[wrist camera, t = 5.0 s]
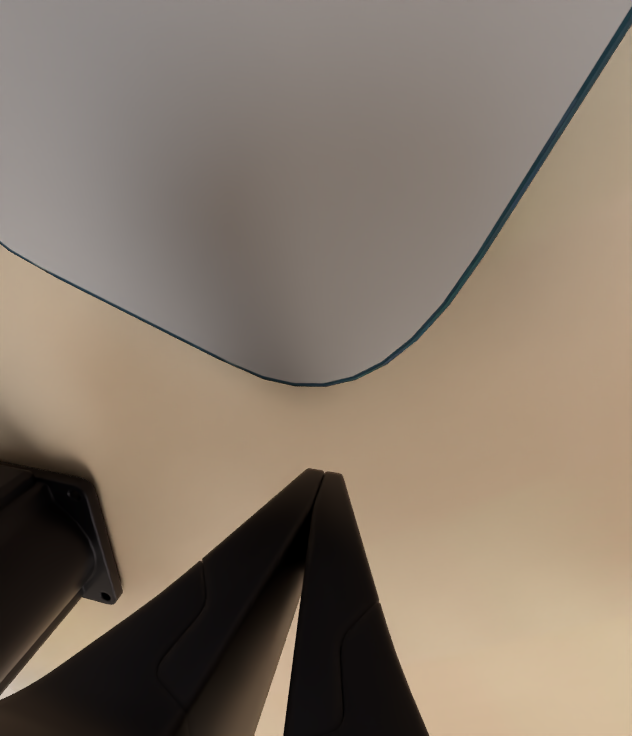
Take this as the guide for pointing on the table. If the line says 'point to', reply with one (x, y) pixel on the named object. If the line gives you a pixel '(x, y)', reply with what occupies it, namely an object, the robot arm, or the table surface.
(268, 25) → the external hard drive
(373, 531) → the table surface
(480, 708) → the table surface
